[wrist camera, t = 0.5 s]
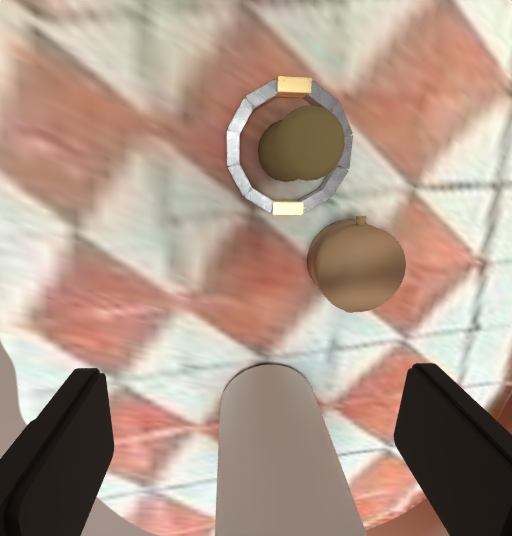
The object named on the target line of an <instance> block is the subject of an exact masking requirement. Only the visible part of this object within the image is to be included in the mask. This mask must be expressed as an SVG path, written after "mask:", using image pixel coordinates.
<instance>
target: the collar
mask: <svg viewBox="0 0 512 536" xmlns="http://www.w3.org/2000/svg"><path fill="white" fill-rule="evenodd" d="M275 97H293V98H304V99H305V100H307V101H308V102H309V103H311V104H312V105H314V106H318V107H322V108H326V109H327V110H329V111H330V112H332V113H333V114H334V115H335V116H336V117H337V119H338V120H339V121H340V123H341V125H342V128H343V131H344V134H345V147H344V150H343V154H342V157H341V159H340V160H339V162H338V164H337V165H336V167H335V168H334V169H333V170H331V171H330V172H329V173H328V175H327V176H326V178H325V180H324V181H323V183H322V184H321V186H320V187H319V189H317V190H315V191H314V192H312V193H310V194H308V195H306V196H305V197H303V198H301V199H299V200H297V201H276V200H271V199H269V198H268V197H266V196H265V195H263V194H261V193H260V192H258V191H256V190H255V189H253V188H252V187H251V185H250V183H249V181H248V179H247V177H246V175H245V173H244V172H243V170H242V168H241V166H240V164H239V135H240V133H241V131H242V129H243V128H244V126H245V124H246V122H247V120H248V118H249V117H250V115H251V113H252V111H253V110H255V109H257V108H258V107H260V106H262V105H263V104H265V103H267V102H268V101H270V100H272V99H274V98H275ZM338 101H339V100H337V99H336V98H335V97H333V96H332V95H331V94H330V93H328V92H327V91H326V90H324V89H323V88H322V87H320V86H319V85H318V84H316V83H315V82H314V81H312V78H302V77H283V76H278V78H277V80H275V79H274V80H272V81H270V82H269V83H267V84H265V85H264V86H262V87H260V88H259V89H257V90H255V91H254V92H252V93H250V94H249V95H247V96H246V97H245V98H244V99H243V101H242V103H241V105H240V106H239V108H238V110H237V112H236V114H235V116H234V118H233V119H232V121H231V123H230V125H229V127H228V129H227V130H228V131H227V166H230V167H228V169H229V171H230V173H231V175H232V177H233V178H234V180H235V182H236V184H237V186H238V188H239V189H240V191H241V193H242V195H243V196H244V197H245V198H246V199H248V200H250V201H251V202H253V203H254V204H256V205H258V206H259V207H261V208H263V209H264V210H266V211H268V212H269V213H270V212H271V213H272V214H282V215H303V213H305V212H307V211H309V210H310V209H312V208H314V207H316V206H318V205H319V204H321V203H323V202H325V201H327V200H328V199H329V197H332V195H333V194H334V192H335V191H336V189H337V188H338V186H339V184H340V183H341V181H342V180H343V178H344V177H345V175H346V174H347V172H348V170H347V169H349V166H350V157H351V148H352V139H353V136H349V135H351V134H352V131H351V128H350V126H349V123H348V121H347V118H346V116H345V113H344V111H343V108H342V106H341V103H338ZM337 103H338V104H337Z"/></svg>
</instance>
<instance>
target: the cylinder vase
mask: <svg viewBox="0 0 512 536" xmlns="http://www.w3.org/2000/svg"><path fill="white" fill-rule="evenodd" d="M215 536H367V534H366V531H365V528H364V526H363V523H362V520H361V518H360V515H359V512H358V510H357V507H356V504H355V502H354V499H353V496H352V494H351V491H350V488H349V486H348V483H347V480H346V478H345V475H344V472H343V470H342V467H341V464H340V462H339V459H338V456H337V454H336V451H335V449H334V446H333V443H332V441H331V438H330V435H329V433H328V430H327V427H326V425H325V422H324V419H323V417H322V414H321V411H320V409H319V406H318V403H317V401H316V398H315V395H314V393H313V390H312V388H311V386H310V384H309V383H308V381H307V380H306V379H305V378H304V377H303V376H302V375H301V374H300V373H298V372H297V371H295V370H293V369H291V368H288V367H285V366H281V365H260V366H256V367H253V368H250V369H248V370H246V371H244V372H242V373H240V374H239V375H238V376H236V377H235V378H234V379H233V380H232V381H231V382H230V383H229V384H228V386H227V387H226V389H225V391H224V393H223V395H222V398H221V403H220V422H219V447H218V472H217V497H216V523H215Z"/></svg>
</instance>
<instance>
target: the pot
mask: <svg viewBox="0 0 512 536" xmlns="http://www.w3.org/2000/svg"><path fill="white" fill-rule="evenodd" d="M307 265H308V270H309V273H310V276H311V277H312V279H313V281H314V282H315V283H316V285H317V286H318V287H319V289H320V290H321V291H322V293H323V294H324V295H325V297H326V298H327V299H328V300H329V301H330V302H331V303H332V304H333V305H335V306H336V307H338V308H340V309H342V310H345V311H346V312H349V313H352V312H363V311H368V310H371V309H374V308H376V307H379V306H380V305H382V304H384V303H385V302H386V301H388V300H389V299H390V298H391V297H392V296H393V295H394V294H395V292H396V291H397V290H398V288H399V286H400V285H401V283H402V280H403V277H404V274H405V267H406V261H405V255H404V252H403V249H402V247H401V245H400V244H399V242H398V241H397V240H396V239H395V238H394V237H393V236H392V235H390V234H389V233H387V232H385V231H383V230H380V229H378V228H375V227H373V226H370V225H368V224H366V216H356V220H342V221H338V222H335V223H333V224H331V225H329V226H327V227H326V228H324V229H323V230H322V231H321V232H320V233H319V234H318V235H317V236H316V237H315V239H314V240H313V242H312V244H311V246H310V248H309V252H308V257H307Z"/></svg>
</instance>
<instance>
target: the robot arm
mask: <svg viewBox="0 0 512 536" xmlns="http://www.w3.org/2000/svg"><path fill="white" fill-rule="evenodd" d="M394 441H395V445H396V447H397V449H398V451H399V452H400V454H401V456H402V457H403V459H404V460H405V462H406V464H407V465H408V467H409V469H410V470H411V472H412V474H413V475H414V477H415V479H416V480H417V482H418V484H419V485H420V487H421V489H422V490H423V492H424V494H425V495H426V497H427V498H428V500H429V502H430V503H431V505H432V507H433V508H434V510H435V512H436V513H437V515H438V516H439V518H440V520H441V522H442V523H443V525H444V526H445V528H446V530H447V531H448V533H449V535H450V536H512V435H511V434H510V433H509V432H508V431H507V430H506V429H505V428H504V427H503V426H502V425H501V424H499V423H498V422H497V421H496V420H495V419H494V418H493V417H492V416H491V415H490V414H489V413H488V412H487V411H486V410H484V409H483V408H482V407H481V406H480V405H479V404H478V403H477V402H476V401H475V400H474V399H473V398H472V397H471V396H469V395H468V394H467V393H466V392H465V391H464V390H463V389H462V388H461V387H460V386H459V385H458V384H457V383H456V382H454V381H453V380H452V379H451V378H450V377H449V376H448V375H447V374H446V373H445V372H444V371H443V370H442V369H441V368H439V367H438V366H437V365H436V364H433V363H416V364H414V365H413V366H412V368H410V369H409V370H408V372H407V376H406V381H405V386H404V390H403V395H402V399H401V404H400V409H399V413H398V418H397V422H396V427H395V432H394ZM113 452H114V439H113V431H112V423H111V415H110V407H109V399H108V391H107V383H106V376H105V374H104V373H100V371H99V370H98V369H97V368H77V369H75V370H74V371H73V372H72V373H71V375H70V376H69V377H68V378H67V380H66V381H65V382H64V383H63V385H62V386H61V387H60V389H59V390H58V391H57V392H56V394H55V395H54V396H53V397H52V399H51V400H50V401H49V403H48V404H47V405H46V406H45V408H44V409H43V410H42V411H41V413H40V414H39V415H38V417H37V418H36V419H35V420H33V421H31V422H30V423H29V424H28V425H27V426H26V428H25V429H24V430H23V431H22V433H21V434H20V435H19V437H18V438H17V439H16V440H15V441H14V443H13V444H12V445H11V446H10V448H9V449H8V450H7V452H6V453H5V454H4V455H3V456H2V458H1V459H0V536H80V535H81V533H82V530H83V528H84V526H85V523H86V521H87V518H88V516H89V513H90V511H91V509H92V506H93V504H94V501H95V499H96V496H97V494H98V491H99V489H100V487H101V484H102V482H103V479H104V477H105V474H106V472H107V469H108V467H109V465H110V462H111V460H112V457H113Z"/></svg>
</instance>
